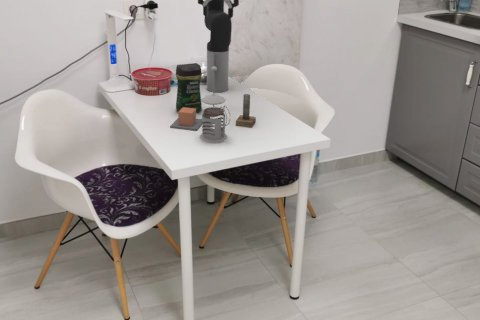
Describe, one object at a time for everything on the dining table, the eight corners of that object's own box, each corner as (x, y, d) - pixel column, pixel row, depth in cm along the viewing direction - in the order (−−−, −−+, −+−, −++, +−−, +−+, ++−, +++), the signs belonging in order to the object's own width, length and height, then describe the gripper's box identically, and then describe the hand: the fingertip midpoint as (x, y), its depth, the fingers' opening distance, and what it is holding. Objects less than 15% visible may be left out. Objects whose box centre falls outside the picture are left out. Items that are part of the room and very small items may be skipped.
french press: (212, 129, 191) (212, 60, 180) (237, 138, 184) (239, 67, 173) (193, 137, 184) (192, 66, 173) (218, 146, 177) (219, 73, 166)
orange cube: (178, 124, 192) (178, 111, 190) (183, 119, 196) (182, 107, 194) (191, 126, 191) (191, 113, 189) (196, 121, 195) (196, 108, 193)
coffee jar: (180, 116, 201) (179, 68, 193) (173, 109, 208) (172, 62, 200) (204, 112, 205) (204, 65, 197) (196, 106, 212) (196, 60, 204)
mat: (179, 117, 200) (179, 116, 199) (205, 120, 198) (205, 119, 197) (170, 127, 191) (170, 126, 191) (196, 130, 189) (196, 129, 189)
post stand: (239, 119, 200) (240, 91, 195) (255, 121, 198) (256, 93, 193) (235, 125, 194) (236, 96, 189) (251, 127, 193) (253, 98, 188)
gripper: (195, -31, 180) (195, 18, 187) (236, -28, 177) (234, 21, 185) (202, -33, 187) (202, 14, 194) (241, -31, 184) (240, 17, 191)
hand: (218, 17), depth 189 cm, fingers open, 8 cm apart
